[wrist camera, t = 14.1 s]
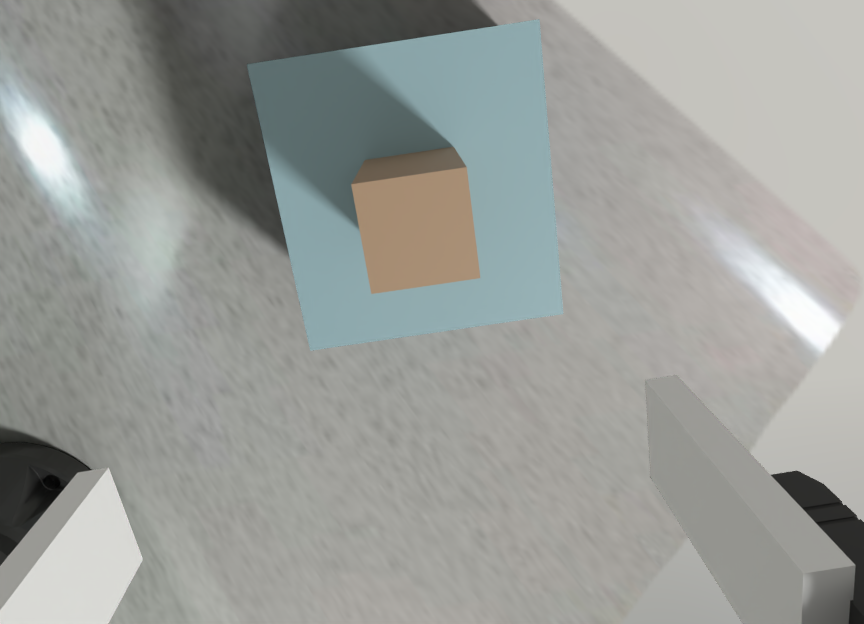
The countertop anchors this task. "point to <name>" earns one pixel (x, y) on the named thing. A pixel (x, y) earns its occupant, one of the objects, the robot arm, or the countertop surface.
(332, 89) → the pale blue storage box
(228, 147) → the countertop surface
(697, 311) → the countertop surface
